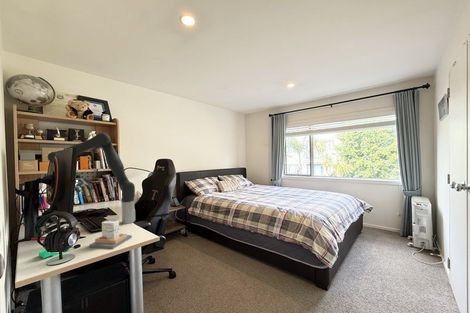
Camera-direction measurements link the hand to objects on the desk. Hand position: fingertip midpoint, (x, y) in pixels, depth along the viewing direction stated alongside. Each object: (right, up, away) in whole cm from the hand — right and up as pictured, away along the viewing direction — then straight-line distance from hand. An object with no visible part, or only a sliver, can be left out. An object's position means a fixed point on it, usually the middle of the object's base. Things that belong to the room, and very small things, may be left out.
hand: (85, 190), depth 140 cm
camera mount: (+2, -31, -25) cm, 40 cm away
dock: (+26, -30, -12) cm, 41 cm away
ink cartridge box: (+25, -29, -12) cm, 40 cm away
